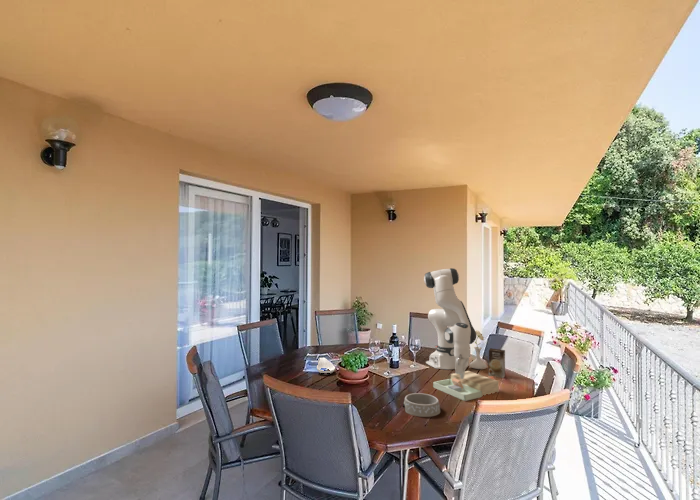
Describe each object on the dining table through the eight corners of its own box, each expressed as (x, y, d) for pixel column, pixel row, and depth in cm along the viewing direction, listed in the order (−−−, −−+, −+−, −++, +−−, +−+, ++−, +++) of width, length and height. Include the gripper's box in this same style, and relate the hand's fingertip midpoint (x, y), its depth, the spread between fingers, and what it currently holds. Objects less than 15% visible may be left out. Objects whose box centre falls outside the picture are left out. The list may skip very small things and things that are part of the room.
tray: (433, 387, 213) (433, 381, 213) (449, 383, 219) (449, 378, 219) (464, 401, 192) (464, 395, 192) (481, 396, 198) (481, 391, 198)
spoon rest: (337, 375, 236) (337, 363, 236) (318, 376, 232) (318, 365, 232) (328, 365, 258) (328, 354, 258) (311, 366, 255) (311, 356, 255)
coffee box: (488, 375, 235) (488, 350, 235) (490, 373, 240) (489, 348, 241) (503, 378, 230) (503, 351, 231) (505, 375, 236) (505, 349, 236)
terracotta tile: (457, 385, 212) (454, 387, 212) (454, 377, 211) (451, 379, 211) (463, 387, 208) (461, 389, 207) (460, 380, 207) (457, 382, 206)
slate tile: (455, 384, 210) (455, 388, 210) (448, 386, 208) (448, 389, 207) (461, 387, 205) (461, 391, 205) (454, 388, 203) (454, 392, 203)
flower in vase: (488, 371, 245) (488, 332, 246) (470, 370, 247) (470, 332, 248) (485, 365, 258) (485, 329, 259) (468, 364, 260) (467, 328, 261)
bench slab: (450, 384, 218) (450, 374, 218) (468, 380, 225) (468, 370, 225) (480, 396, 199) (480, 384, 199) (498, 392, 205) (498, 380, 206)
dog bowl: (434, 402, 191) (434, 391, 191) (444, 417, 172) (444, 405, 172) (400, 402, 190) (400, 392, 190) (407, 417, 172) (407, 405, 172)
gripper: (464, 357, 197) (464, 384, 197) (470, 349, 216) (471, 374, 215) (452, 356, 200) (452, 382, 200) (459, 348, 218) (459, 372, 218)
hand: (462, 378), depth 208 cm, fingers closed
